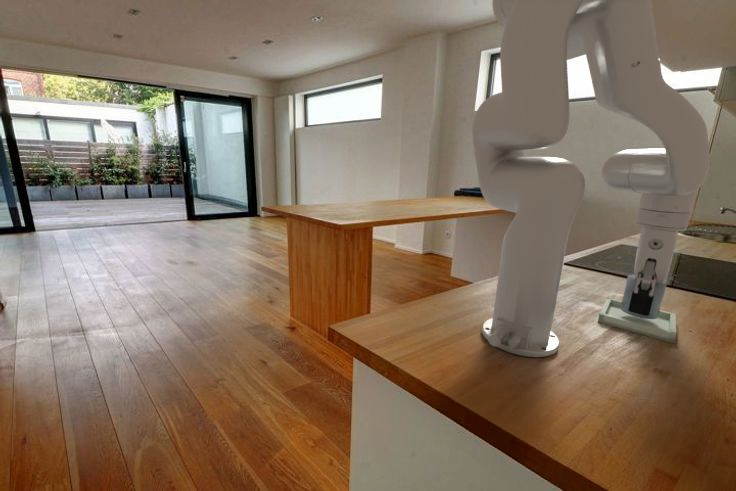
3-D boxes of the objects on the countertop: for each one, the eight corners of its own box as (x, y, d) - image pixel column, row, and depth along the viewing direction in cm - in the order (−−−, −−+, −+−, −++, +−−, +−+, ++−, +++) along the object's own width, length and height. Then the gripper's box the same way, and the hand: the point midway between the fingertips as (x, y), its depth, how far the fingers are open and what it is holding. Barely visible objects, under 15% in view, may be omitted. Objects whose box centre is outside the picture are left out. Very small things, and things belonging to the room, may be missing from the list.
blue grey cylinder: (657, 322, 64) (666, 287, 62) (618, 312, 68) (626, 279, 66) (658, 312, 68) (666, 279, 67) (621, 303, 72) (629, 272, 70)
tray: (673, 343, 61) (676, 334, 60) (597, 322, 68) (599, 313, 68) (673, 321, 69) (675, 313, 69) (605, 304, 77) (607, 297, 76)
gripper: (690, 229, 55) (663, 329, 59) (686, 217, 67) (664, 300, 72) (632, 222, 59) (611, 316, 64) (639, 212, 72) (621, 291, 77)
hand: (639, 307), depth 68 cm, fingers closed on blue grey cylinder, 6 cm apart
